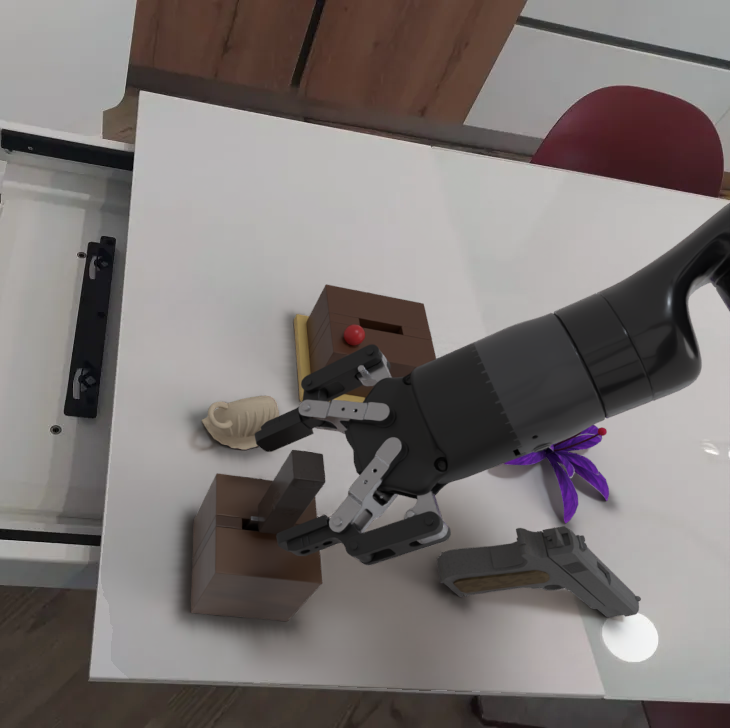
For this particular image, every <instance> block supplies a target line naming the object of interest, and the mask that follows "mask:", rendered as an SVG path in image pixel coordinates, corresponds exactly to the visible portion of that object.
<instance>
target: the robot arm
mask: <svg viewBox="0 0 730 728" xmlns="http://www.w3.org/2000/svg"><path fill="white" fill-rule="evenodd" d="M708 284H711V285H712V286H713V287H714V288H715V290H716V293H717V294H718V296H719V297H720V299H721V301H722V302H723V303H724V305H725V306H726V309H727V310H728V312H730V202H729V203H727V204H726V205H724V206H723V207H722V208H720V209H719V210H718V211H717V212H716V213H714V214H712V215H711V216H710V217H709V218H708V219H707V220H706V221H704V222H703V223H702V224H700V226H698V227H697V228H696V229H695V230H693V231H692V232H691V233H689V235H687V236H686V237H684V238H683V239H681V241H679V242H678V243H677V244H675V245H674V246H673V247H671V248H670V249H668V250H667V251H666V252H664V253H663V254H661V255H660V256H658V257H657V258H655V259H654V260H653V261H651V262H650V263H649V264H647V265H645V266H644V267H642V268H641V269H639V270H637V271H636V272H634V273H633V274H631V275H630V276H628V277H626V278H624V279H623V280H621V281H619V282H617V283H615V284H613V285H610V286H608V287H607V288H604V289H602V290H600V291H598V292H595V293H593V294H591V295H588V296H586V297H583V298H581V299H579V300H577V301H575V302H572V303H570V304H568V305H565V306H563V307H561V308H559V309H557V310H554V311H553V312H550V313H547V314H544V315H541V316H538V317H534V318H532V319H528V320H524V321H521V322H518V323H515V324H513V325H510V326H508V327H505V328H503V329H500V330H499V331H496V332H494V333H491V334H490V335H489V334H488V335H487V336H484V337H482V338H480V339H478V340H476V341H473V342H471V343H469V344H466V345H463V346H462V347H459V348H457V349H454V350H452V351H451V352H449V353H445V354H444V355H441V356H439V357H436V359H435V360H432V361H430V362H428V363H425V364H423V365H421V366H419V367H416V368H415V369H414V370H413V371H412V372H411V373H410V374H408V375H407V376H404V377H398V378H394V377H391V374H390V372H389V370H390V367H391V366H390V363H389V362H388V360H387V359H386V358H385V356H384V355H383V353H382V352H381V351H380V349H379V348H378V347H377V346H376V345H374V344H370V345H368V346H366V347H363V348H361V349H359V350H357V351H355V352H353V353H351V354H349V355H347V356H345V357H343V358H341V359H339V360H337V361H335V362H333V363H331V364H329V365H327V366H325V367H323V368H321V369H319V370H317V371H315V372H313V373H311V374H309V375H307V376H305V377H304V378H303V380H302V382H301V387H302V388H303V389H304V392H303V400H302V401H301V402H300V404H299V406H297V407H296V408H294V409H291V410H289V411H287V412H285V413H283V414H279V417H276V418H274V419H271V420H269V421H267V422H265V423H264V424H263V425H262V426H261V430H260V431H258V432H256V433H255V440H256V444H257V445H258V446H257V447H259V448H260V449H262V450H263V451H264V452H267V453H271V452H275V451H277V450H279V449H282V448H284V447H286V446H288V445H291V444H293V443H295V442H298V441H300V440H302V439H304V438H307V437H310V436H312V435H314V430H313V429H316V430H322V431H330V432H339V433H341V434H343V435H345V439H346V441H347V443H348V444H349V446H350V447H351V449H352V454H353V465H354V468H355V471H356V474H357V475H358V477H357V478H356V479H355V480H354V481H353V483H352V484H351V486H349V488H348V491H347V495H346V497H345V499H344V500H343V501H342V502H341V504H340V505H339V506H338V508H337V509H336V510H335V511H334V512H333V514H332V515H331V516H330V517H329V516H327V515H326V514H322V515H320V516H317V518H315V519H312V520H310V521H307V522H305V523H302V524H299V525H297V526H294V527H292V528H289V529H287V530H284V531H282V532H279V533H277V534H276V538H277V542H278V546H279V547H281V548H282V549H284V550H286V551H288V552H292V553H293V554H295V555H297V556H307V555H309V554H312V553H315V552H317V551H320V552H321V551H323V550H325V549H329V548H331V547H333V546H335V545H338V544H342V545H343V546H344V548H345V551H346V553H347V554H348V555H349V556H351V557H352V558H354V559H356V560H358V561H359V562H360V563H361V564H362V565H364V566H369V567H370V566H373V565H375V564H379V563H382V562H385V561H387V560H388V561H389V560H392V559H394V558H398V557H401V556H404V555H407V554H410V553H414V552H417V551H420V550H423V549H426V548H429V547H432V546H436V545H439V544H441V543H445V542H446V541H448V540H449V539H450V538H451V535H452V530H451V528H450V526H449V525H448V523H446V521H445V520H444V517H443V516H442V512H441V509H440V507H439V504H438V503H439V502H438V500H437V497H436V496H437V495H438V493H439V492H440V491H441V490H442V489H443V488H444V487H446V486H447V485H448V484H450V483H453V482H456V481H460V480H464V479H466V478H469V477H472V476H475V475H477V474H479V473H482V472H485V471H487V470H490V469H492V468H496V467H498V466H500V465H504V464H503V463H506V462H508V461H511V460H514V459H516V458H519V457H522V456H524V455H527V454H529V453H532V452H539V451H542V450H545V449H547V448H549V447H551V445H553V444H555V443H558V442H561V441H563V440H565V439H568V438H570V437H572V436H574V435H576V434H578V433H580V432H582V431H583V430H585V429H587V428H589V427H591V426H592V425H597V424H598V423H599V424H600V423H601V422H603V421H604V420H606V419H609V418H612V417H616V416H617V415H620V414H622V413H623V414H624V413H625V412H628V411H631V410H633V409H636V408H638V407H642V406H643V405H646V404H648V403H651V402H655V401H657V400H660V399H662V398H665V397H668V396H670V395H673V394H675V393H678V392H680V391H682V390H684V389H686V388H688V387H690V386H691V385H692V384H693V383H695V382H696V381H697V379H698V378H699V377H700V375H701V372H702V367H703V360H702V355H701V350H700V345H699V342H698V337H697V336H696V331H695V328H694V325H693V322H692V318H691V314H690V313H691V312H690V308H689V300H690V297H691V296H692V294H694V292H696V291H697V290H699V289H701V288H702V287H703V286H706V285H708ZM362 385H365V386H374V385H375V386H374V387H373V388H372V390H371V391H370V393H369V394H368V395H367V397H366V398H365V400H364V401H363V402H352V401H342V400H333V399H335V398H337V397H339V396H341V395H343V394H346V393H348V392H350V391H352V390H354V389H356V388H358V387H360V386H362ZM329 401H330V402H329ZM399 496H402V497H406V498H409V499H413V500H416V503H415V504H414V506H412V507H411V508H409V509H407V510H406V512H405V513H404V516H403V519H401V520H398V521H394V522H392V523H389V524H386V525H383V526H380V527H377V528H374V529H371V530H368V531H366V530H367V529H368V528H369V526H370V525H371V524H372V523H373V522H374V520H376V519H378V518H380V517H382V516H383V515H384V514H385V513H386V512H387V510H388V509H389V508H390V506H391V505H392V503H394V501H396V499H397V498H398V497H399Z"/></svg>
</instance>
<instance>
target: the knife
mask: <svg viewBox="0 0 730 728" xmlns="http://www.w3.org/2000/svg"><path fill="white" fill-rule="evenodd" d="M272 481H273V482H272V483H271V485H270V487H269V488H268V490H267V491H266V493H265V495H264V496H263V498H262V500H261V501H260V503H259V504H258V517H253V516H251V518H250V519H249V521H248V522H247V524H246V526H245V527H244V529H243V530H250V531H259V532H262V533H271V534H277V533H279V532H282V531H284V530H287V529H289V528H292V527H293V526H294V525H295V524H296V522H297V521H298V519H299V518H300V517H301V515H302V514H303V513H304V511H305V510H306V508H307V507H308V506H309V504H310V503H311V502H312V500H313V499H314V497H315V498H316V496H317V495H318V493H319V492H320V491H321V490H322V488H323V486H324V485H325V484H326V473H325V460H324V454H323V453H320V452H313V451H306V450H299V449H292V450H290V453H289V454H288V455H287V458H286V459H285V461H284V462H283V464H282V466H281V467H280V469H279V470H278V472H277V473H276V475H275V477H274V478H273V480H272Z"/></svg>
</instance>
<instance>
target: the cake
mask: <svg viewBox="0 0 730 728" xmlns="http://www.w3.org/2000/svg"><path fill="white" fill-rule="evenodd" d="M293 327H294V341H295V353H296V367H297V380H298V394H299V395H298V396H299V401H300V402H302V400H303V392H304V389H303V388H302V387H301V382H302V380H303V378H304V377H305V376H307V375H309V374H311V373H313V372H315V371H317V370H319V369H321V368H323V367H325V366H327V365H329V364H331V363H333V362H335V361H337V360H339V359H341V358H343V357H345V356H347V355H349V354H351V353H353V352H355V351H357V350H359V349H361V348H363V347H366V346H368V345H370V344H374V345H376V346H377V347H378V348H379V349H380V351H381V352H382V353H383V355H384V356H385V358H386V359H387V360H388V362H389V363H390V366H391V367H390V370H389V372H390V374H391V377H394V378H398V377H404V376H407V375H408V374H410V373H411V372H412V371H413V370H414V369H415V368H416V367H419V366H421V365H423V364H425V363H428V362H430V361H432V360H435V359H437V356H436V352H435V347H434V342H433V337H432V333H431V329H430V324H429V321H428V316H427V311H426V307H425V304H424V303H423V302H418V301H413V300H408V299H403V298H398V297H393V296H387V295H382V294H378V293H373V292H367V291H363V290H362V291H361V290H357V289H352V288H347V287H343V286H342V287H341V286H337V285H332V284H328V283H327V284H325V285H324V286H323V289H322V291H321V293H320V294H319V297H318V298H317V300H316V302H315V305H314V306H313V308H312V310H311V312H310V313H309V315H304V314H299V313H297V314H296V315H295V316H294V318H293ZM374 386H375V385H374ZM374 386H365V385H362V386H360V387H358V388H356V389H354V390H352V391H350V392H348V393H346V394H343V395H341V396H339V397H337V398H335V399H333V400H342V401H352V402H363V401H364V400H365V398H366V397H367V395H368V394H369V393H370V391H371V390H372V388H373V387H374ZM329 402H330V401H329Z"/></svg>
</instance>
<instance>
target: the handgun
mask: <svg viewBox="0 0 730 728" xmlns="http://www.w3.org/2000/svg"><path fill="white" fill-rule="evenodd" d="M515 532H516V541H514V542H511V543H505V544H497V545H490V546H475V547H474V546H473V547H464V548H455V549H449V550H446V551H440V555H438V557H436V564H437V571H438V577H439V578H438V579H439V583H440V584H444V585H445V586H446V587H448V588H449V589H450V590H451V591H452V592H453V593H454V594H456V596H458V597H459V598H463V597H464V596H465V597H469V596H474V595H480V594H489V593H495V592H503V591H509V590H510V591H511V590H517V589H532V590H537V589H541V590H544V591H551V592H552V591H553V592H554V591H559V590H564V589H565V590H566V591H569V592H570V593H572V594H573V595H574V596H575V597H577V599H579V600H580V601H582V602H583V604H585V605H587V606H588V607H589V608H590V609H592V610H598V611H599V612H600V613H601V614H603V615H604V616H605V617H606V618H615V617H620V616H624V617H625V618H626V617H631V616H635V615H637V614H638V613H639V610H640V603H639V602H641V600H642V598H641V597H640V596H639V595H636V594H635V593H634V592H633V591H632V590H631V588H629V587H628V585H626V584H625V583H624V582H623V581H622V580H621V579H620V578H619V577H618V576H617V575H616V574H615V572H613V571H612V570H611V569H610V568H609V567H608V566H607V565H606V564H605V563H604V562H603V561H602V560H601V559H600V558H599V557H598V556H597V555H596V554H595V553H594V552H593V551H592V550H591V549H590V548H589V547H588V545H587V543H586V537H585V536H584V535H583V534H582V535H581V534H580V535H579V534H576V533H574V531H573V530H571V529H570V528H569V527H567V526H565V525H562V526H557V527H551V528H546V529H542V530H538V531H531V530H528V529H526V528H524V527H517V528H516V529H515Z"/></svg>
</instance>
